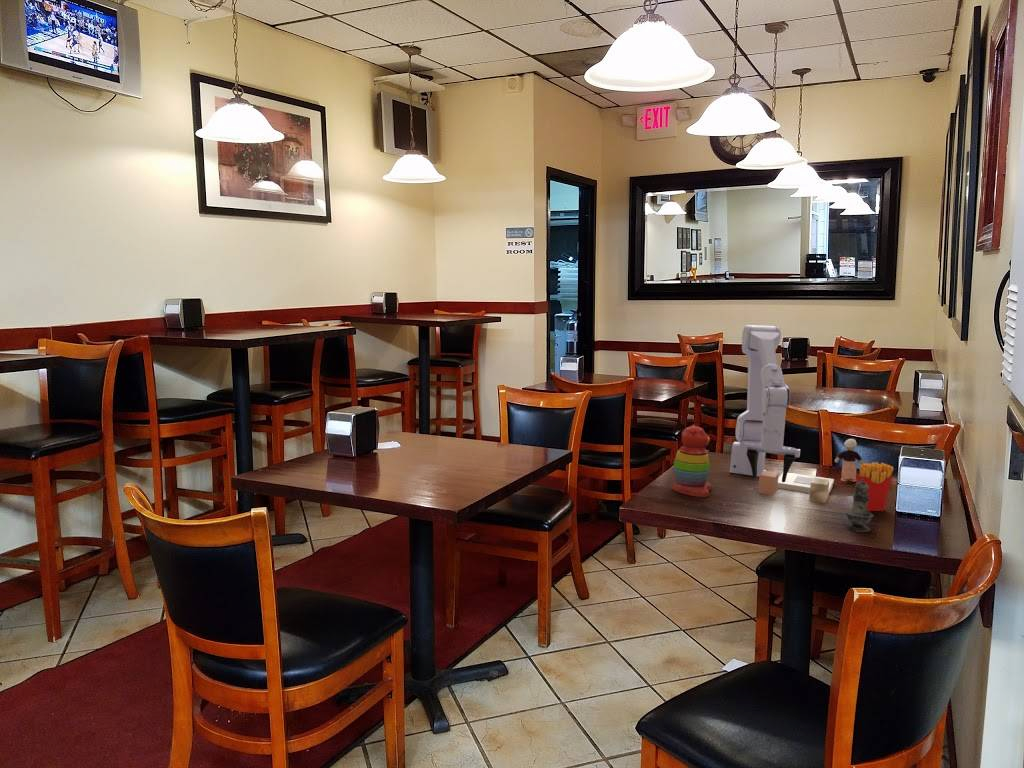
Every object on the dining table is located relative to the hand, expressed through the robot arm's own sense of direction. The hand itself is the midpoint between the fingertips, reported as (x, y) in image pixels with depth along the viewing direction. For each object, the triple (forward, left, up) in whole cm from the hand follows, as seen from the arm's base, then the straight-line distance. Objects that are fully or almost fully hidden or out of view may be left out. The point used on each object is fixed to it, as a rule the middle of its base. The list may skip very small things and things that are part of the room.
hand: (768, 479), depth 210 cm
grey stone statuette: (+24, -21, -4) cm, 32 cm away
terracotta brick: (0, 0, -4) cm, 4 cm away
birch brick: (+13, 0, -4) cm, 13 cm away
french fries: (+26, -2, -4) cm, 26 cm away
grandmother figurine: (+18, +25, -4) cm, 31 cm away
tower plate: (+8, +12, -3) cm, 15 cm away
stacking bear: (-18, -12, -4) cm, 22 cm away
